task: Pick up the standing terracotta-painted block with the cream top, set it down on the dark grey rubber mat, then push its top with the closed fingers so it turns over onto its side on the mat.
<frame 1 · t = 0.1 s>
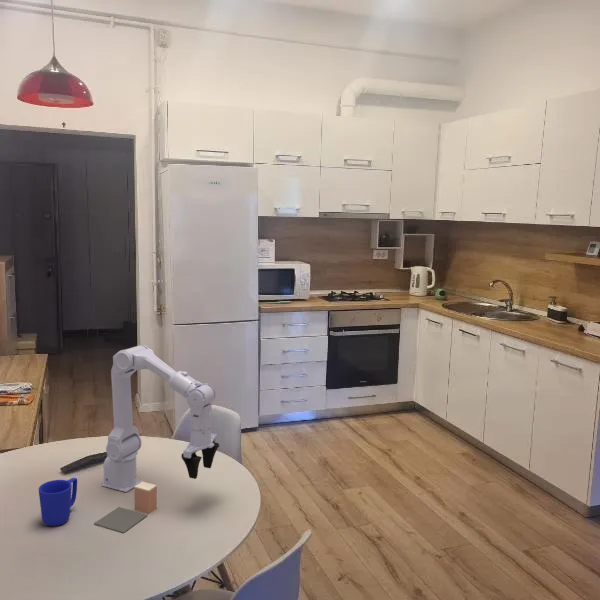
hand: (200, 472, 168), 10 cm above the table, fingers open, 7 cm apart
mug: (61, 518, 160), on the table
block: (145, 508, 166), on the table
mat: (121, 520, 160), on the table
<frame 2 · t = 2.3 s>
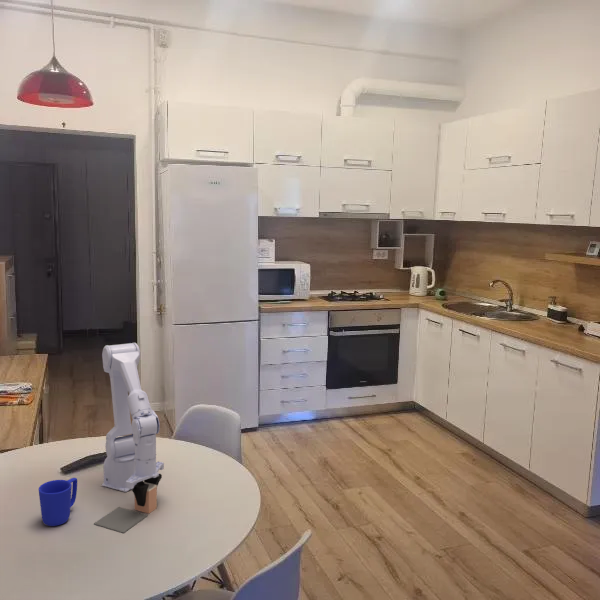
hand: (145, 502, 166), 2 cm above the table, fingers closed on block, 3 cm apart
block: (145, 508, 166), on the table, touching gripper
everything else where it was.
when the fingers open (3 cm above the table, at t = 5.0 s): block stays where it is, resting on mat.
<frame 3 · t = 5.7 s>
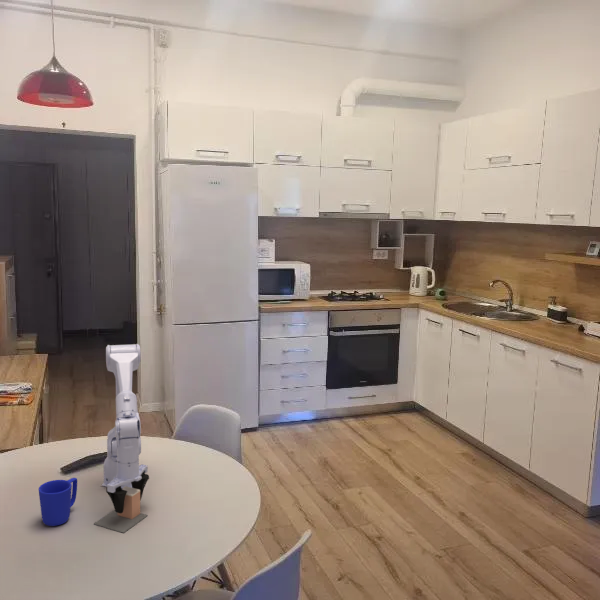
hand: (128, 506, 162), 3 cm above the table, fingers open, 7 cm apart
block: (128, 514, 162), resting on mat
everything else where it was.
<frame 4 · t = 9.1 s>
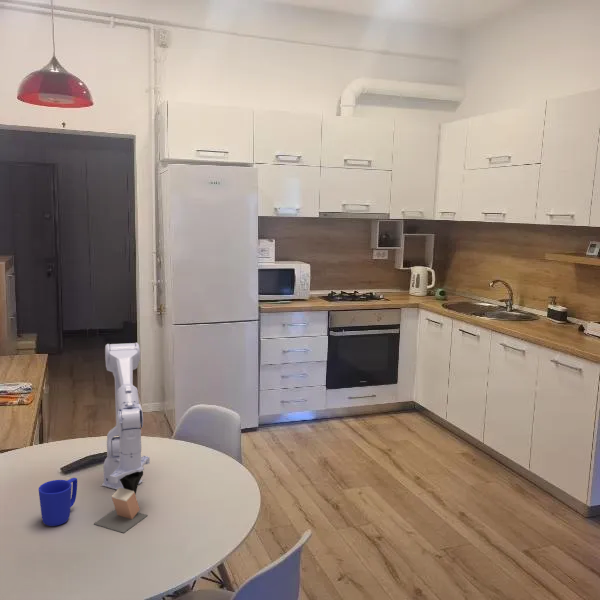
hand: (130, 497, 163), 5 cm above the table, fingers closed
block: (128, 512, 162), point 1 cm above the table, tilted 20°, touching gripper, mat
everything else where it was.
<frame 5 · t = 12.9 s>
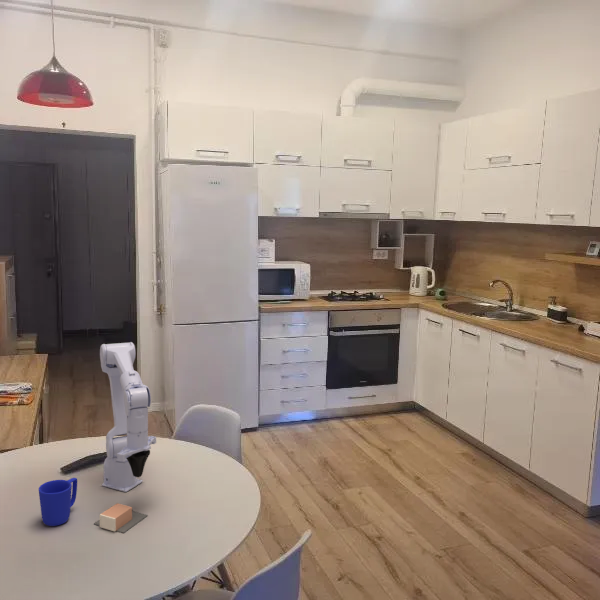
hand: (137, 475, 165), 10 cm above the table, fingers closed
block: (124, 511, 161), point 2 cm above the table, tilted 90°, touching mat
everything else where it was.
at the end: block tilted 90°; block inside the target area on the mat (2.2 cm from its centre), point 2.0 cm above the mat's base; the gripper is holding nothing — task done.
